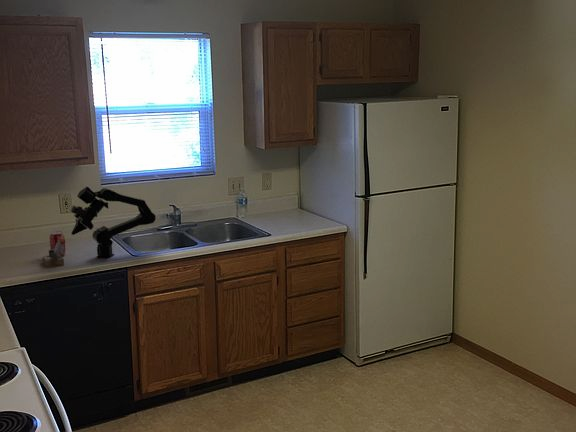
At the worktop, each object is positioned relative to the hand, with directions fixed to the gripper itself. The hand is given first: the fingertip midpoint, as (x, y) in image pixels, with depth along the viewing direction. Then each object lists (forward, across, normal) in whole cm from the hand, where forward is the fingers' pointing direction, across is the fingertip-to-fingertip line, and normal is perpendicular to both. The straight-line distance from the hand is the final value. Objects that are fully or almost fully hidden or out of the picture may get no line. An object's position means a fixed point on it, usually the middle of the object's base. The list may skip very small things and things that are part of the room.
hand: (72, 234), depth 311 cm
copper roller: (+14, 0, 0) cm, 14 cm away
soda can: (+13, -14, +6) cm, 20 cm away
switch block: (+16, 0, +3) cm, 16 cm away
